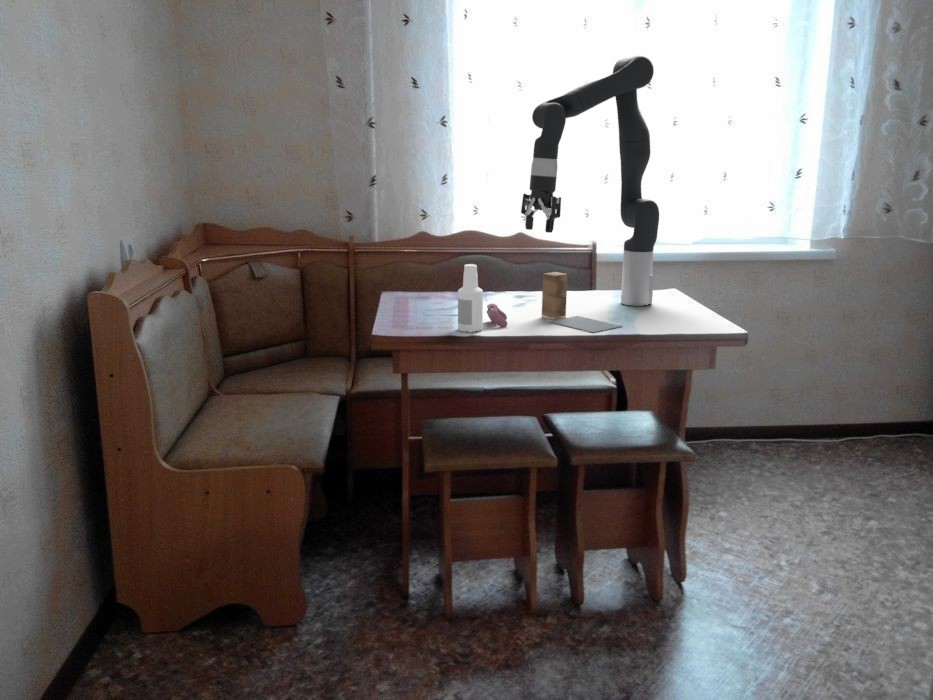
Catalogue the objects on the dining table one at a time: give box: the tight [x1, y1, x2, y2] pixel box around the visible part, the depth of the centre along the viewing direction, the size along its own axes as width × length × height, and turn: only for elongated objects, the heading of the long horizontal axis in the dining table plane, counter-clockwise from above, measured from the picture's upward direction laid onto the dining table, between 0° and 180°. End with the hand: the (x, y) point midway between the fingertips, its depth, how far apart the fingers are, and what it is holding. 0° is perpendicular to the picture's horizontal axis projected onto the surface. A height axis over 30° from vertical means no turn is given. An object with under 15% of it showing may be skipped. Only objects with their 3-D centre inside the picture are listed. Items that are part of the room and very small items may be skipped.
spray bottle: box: [457, 263, 484, 332], centre depth 217 cm, size 7×7×18 cm
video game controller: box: [486, 303, 508, 328], centre depth 226 cm, size 10×5×7 cm, turn 178°
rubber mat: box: [548, 315, 623, 333], centre depth 226 cm, size 17×12×1 cm
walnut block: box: [541, 271, 568, 321], centre depth 234 cm, size 5×5×13 cm
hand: (538, 230), depth 233 cm, fingers open, 8 cm apart
